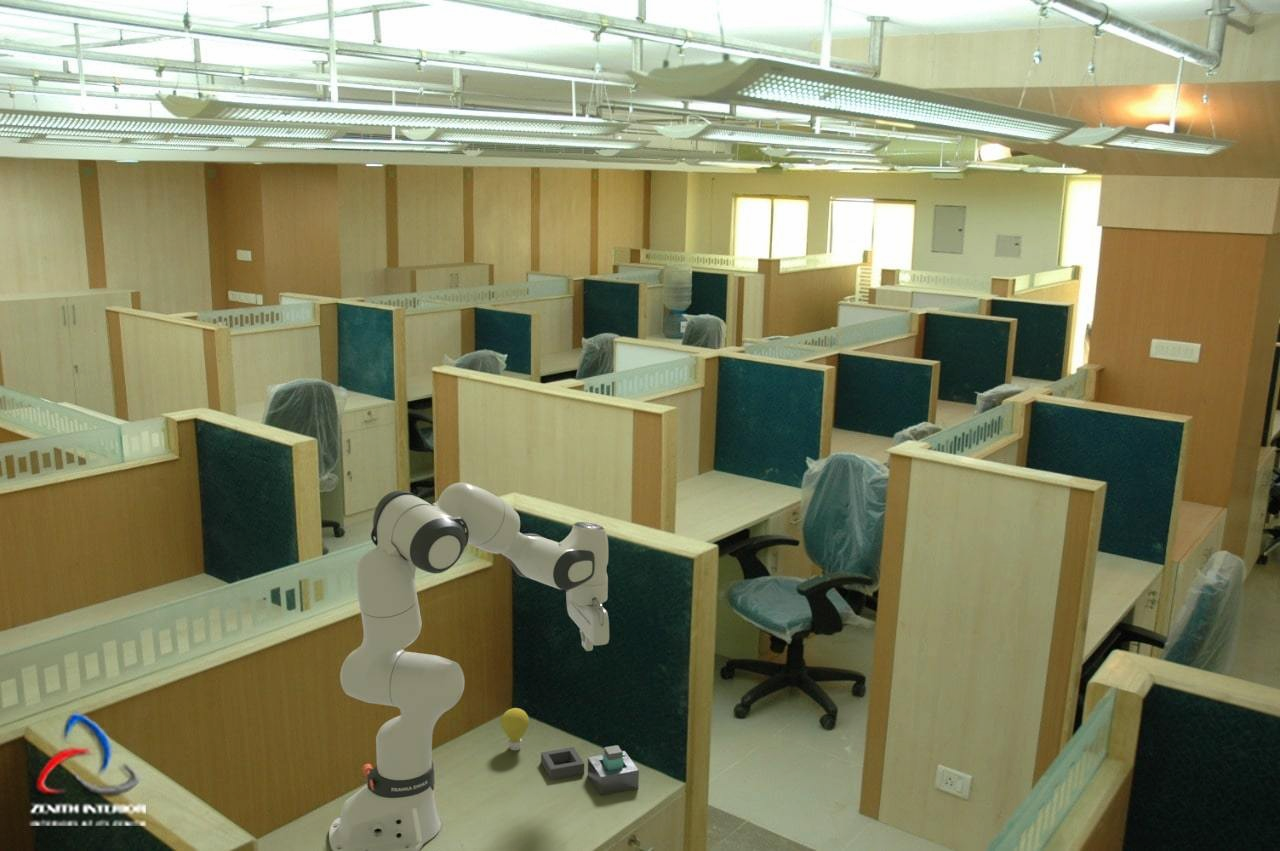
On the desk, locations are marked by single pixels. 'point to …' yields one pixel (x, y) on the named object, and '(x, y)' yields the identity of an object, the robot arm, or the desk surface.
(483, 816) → the desk surface
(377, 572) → the robot arm
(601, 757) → the port
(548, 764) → the frame
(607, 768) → the plug
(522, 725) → the light bulb
